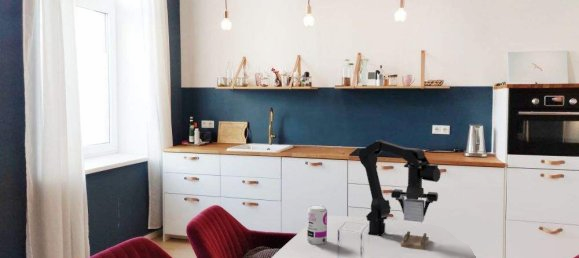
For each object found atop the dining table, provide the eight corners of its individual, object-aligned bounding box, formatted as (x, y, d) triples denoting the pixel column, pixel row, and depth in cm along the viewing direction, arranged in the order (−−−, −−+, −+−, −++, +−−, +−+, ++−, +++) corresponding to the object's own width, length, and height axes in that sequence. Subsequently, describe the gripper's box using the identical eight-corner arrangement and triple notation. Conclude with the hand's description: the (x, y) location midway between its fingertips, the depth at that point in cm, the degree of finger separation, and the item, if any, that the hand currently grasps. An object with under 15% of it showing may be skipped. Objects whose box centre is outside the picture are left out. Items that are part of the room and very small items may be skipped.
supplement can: (328, 240, 208) (329, 206, 207) (323, 245, 200) (324, 210, 199) (310, 238, 211) (311, 204, 210) (304, 243, 203) (305, 208, 202)
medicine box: (424, 220, 205) (424, 199, 204) (422, 222, 201) (422, 202, 200) (405, 218, 208) (406, 198, 208) (403, 220, 204) (403, 200, 203)
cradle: (400, 246, 201) (401, 239, 201) (405, 237, 213) (405, 231, 213) (425, 249, 198) (425, 242, 197) (428, 240, 210) (428, 233, 209)
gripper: (389, 180, 199) (388, 217, 200) (436, 183, 192) (435, 222, 193) (394, 176, 210) (393, 211, 211) (438, 179, 203) (437, 215, 204)
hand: (414, 215), depth 204 cm, fingers closed on medicine box, 8 cm apart
